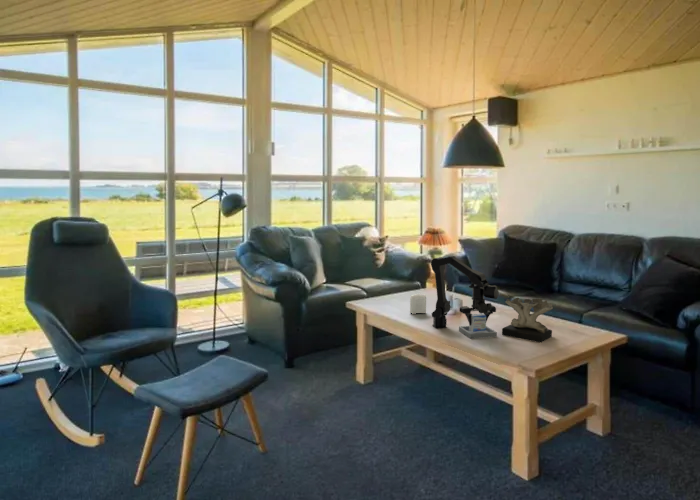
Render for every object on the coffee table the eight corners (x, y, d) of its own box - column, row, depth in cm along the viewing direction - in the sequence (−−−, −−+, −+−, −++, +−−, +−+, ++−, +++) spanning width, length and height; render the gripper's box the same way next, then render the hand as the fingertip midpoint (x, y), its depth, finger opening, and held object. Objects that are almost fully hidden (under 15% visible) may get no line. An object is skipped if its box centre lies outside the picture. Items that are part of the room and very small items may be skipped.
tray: (470, 338, 269) (470, 334, 269) (458, 330, 284) (458, 326, 283) (496, 336, 272) (496, 332, 272) (484, 329, 287) (484, 324, 286)
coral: (558, 338, 268) (560, 298, 265) (541, 347, 254) (542, 304, 251) (514, 329, 286) (515, 291, 283) (495, 337, 271) (496, 297, 269)
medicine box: (472, 332, 274) (473, 316, 273) (468, 329, 279) (469, 314, 278) (486, 330, 276) (486, 315, 275) (481, 328, 281) (482, 313, 280)
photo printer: (425, 312, 326) (425, 293, 324) (426, 313, 321) (427, 294, 320) (409, 313, 324) (409, 293, 323) (410, 314, 320) (411, 295, 318)
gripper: (468, 300, 266) (467, 329, 268) (501, 298, 269) (500, 327, 271) (459, 296, 276) (458, 324, 278) (491, 294, 280) (490, 322, 282)
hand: (477, 324), depth 277 cm, fingers closed on medicine box, 8 cm apart
